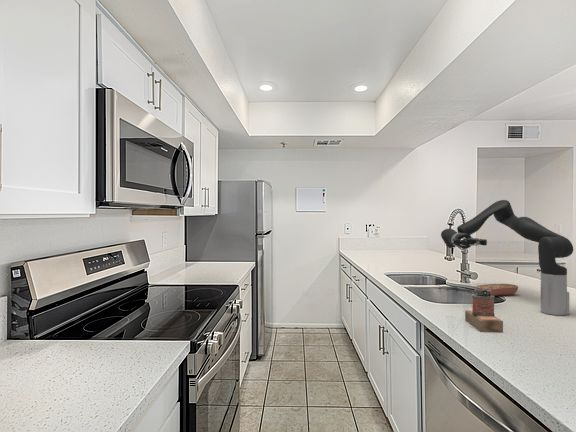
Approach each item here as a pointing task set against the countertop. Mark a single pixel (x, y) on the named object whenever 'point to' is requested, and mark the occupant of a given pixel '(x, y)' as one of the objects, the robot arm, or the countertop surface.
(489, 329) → the wooden block
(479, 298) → the lighter
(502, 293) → the mitochondrion cross-section
